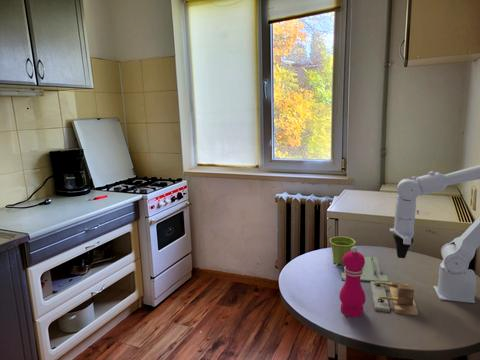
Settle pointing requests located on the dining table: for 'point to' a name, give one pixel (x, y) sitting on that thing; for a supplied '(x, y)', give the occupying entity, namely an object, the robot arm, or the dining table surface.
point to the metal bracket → (370, 271)
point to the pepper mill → (352, 284)
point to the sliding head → (402, 295)
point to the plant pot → (341, 248)
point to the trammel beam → (397, 307)
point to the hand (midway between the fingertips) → (401, 257)
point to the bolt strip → (376, 292)
